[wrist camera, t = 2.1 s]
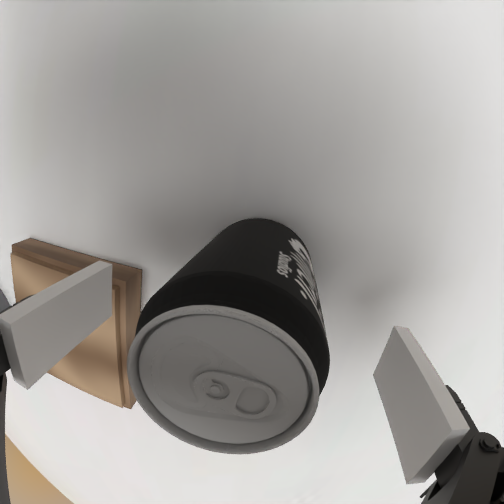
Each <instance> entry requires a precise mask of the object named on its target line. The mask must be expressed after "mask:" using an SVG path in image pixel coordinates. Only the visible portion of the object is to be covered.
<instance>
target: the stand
mask: <svg viewBox="0 0 504 504" xmlns="http://www.w3.org/2000/svg"><path fill="white" fill-rule="evenodd" d="M99 260H100V261H103V262H107V263H110V264H112V316H111V317H110V318H108V319H107V320H106V321H105V322H104V323H103V324H101V325H100V326H99V327H98V328H97V329H95V330H94V331H93V332H92V333H91V334H90V335H88V336H87V337H86V338H85V339H84V340H83V341H82V342H80V343H79V344H78V345H77V346H76V347H75V348H74V349H72V350H71V351H70V352H69V353H68V354H67V355H66V356H64V357H63V358H62V359H61V360H60V361H59V362H58V363H57V364H55V365H54V366H53V367H52V368H51V369H50V370H49V371H48V372H47V373H49V374H51V375H53V376H55V377H56V378H58V379H60V380H62V381H64V382H66V383H68V384H70V385H72V386H74V387H76V388H78V389H80V390H82V391H84V392H87V393H89V394H91V395H93V396H95V397H98V398H100V399H102V400H104V401H107V402H109V403H111V404H114V405H116V406H119V407H121V408H123V406H124V407H126V408H129V409H131V408H132V407H133V405H134V404H135V402H136V400H137V399H136V398H135V396H134V394H133V391H132V389H131V386H130V384H129V380H128V375H127V357H128V353H129V349H130V346H131V344H132V342H133V340H134V338H135V333H136V327H137V323H138V319H139V317H140V306H141V280H142V270H141V269H137V268H133V267H129V266H125V265H122V264H118V263H114V262H111V261H107V260H103V259H100V258H96V257H92V256H89V255H85V254H82V253H78V252H75V251H71V250H68V249H65V248H61V247H58V246H54V245H51V244H48V243H44V242H41V241H38V240H35V239H31V238H29V239H26V240H23V241H21V242H18V243H15V244H12V253H11V266H12V276H13V284H14V292H15V299H16V303H17V302H20V300H22V299H24V298H26V297H28V296H30V295H34V294H37V293H38V292H40V291H42V290H44V289H46V288H48V287H49V286H51V285H53V284H55V283H57V282H59V281H61V280H63V279H64V278H66V277H68V276H70V275H72V274H74V273H76V272H78V271H80V270H82V269H84V268H86V267H88V266H90V265H91V264H93V263H95V262H97V261H99Z"/></svg>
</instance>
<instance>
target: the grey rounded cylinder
mask: <svg viewBox="0 0 504 504" xmlns="http://www.w3.org/2000/svg"><path fill="white" fill-rule="evenodd" d="M8 307H10V305H9V302H8V300H7V298H6V297H5V295H4V293H3V292H2V290H1V289H0V312H1V311H3V310H4V309H6V308H8Z"/></svg>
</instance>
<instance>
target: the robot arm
mask: <svg viewBox="0 0 504 504" xmlns="http://www.w3.org/2000/svg"><path fill="white" fill-rule="evenodd" d="M111 316H112V264H110V263H107V262H103V261H100V260H99V261H97V262H95V263H93V264H91V265H90V266H88V267H86V268H84V269H82V270H80V271H78V272H76V273H74V274H72V275H70V276H68V277H66V278H64V279H63V280H61V281H59V282H57V283H55V284H53V285H51V286H49V287H48V288H46V289H44V290H42V291H40V292H38V293H37V294H34V295H30V296H28V297H26V298H24V299H22V300H20V302H17V303H15V304H13V306H12V305H11V306H10V307H8V308H6V309H4V310H3V311H1V312H0V504H11V503H10V498H9V490H8V481H7V471H6V457H5V401H6V386H7V377H6V374H5V372H6V371H8V370H9V369H11V372H12V375H13V378H14V381H15V382H17V383H18V384H20V385H21V386H23V387H24V388H26V389H27V390H28V389H29V388H30V387H31V386H32V385H33V384H34V383H36V382H37V381H38V380H39V379H40V378H41V377H42V376H43V375H44V374H45V373H47V372H48V371H49V370H50V369H51V368H52V367H53V366H54V365H55V364H57V363H58V362H59V361H60V360H61V359H62V358H63V357H64V356H66V355H67V354H68V353H69V352H70V351H71V350H72V349H74V348H75V347H76V346H77V345H78V344H79V343H80V342H82V341H83V340H84V339H85V338H86V337H87V336H88V335H90V334H91V333H92V332H93V331H94V330H95V329H97V328H98V327H99V326H100V325H101V324H103V323H104V322H105V321H106V320H107V319H108V318H110V317H111ZM373 376H374V379H375V382H376V385H377V388H378V391H379V394H380V397H381V400H382V403H383V406H384V409H385V412H386V415H387V418H388V421H389V425H390V428H391V431H392V434H393V438H394V441H395V444H396V448H397V451H398V455H399V458H400V462H401V465H402V469H403V473H404V476H405V480H406V484H414V483H423V482H425V481H426V480H427V479H428V478H429V477H430V476H431V475H432V474H433V473H434V472H435V475H436V478H437V480H436V481H435V482H434V483H433V484H432V485H431V486H430V487H429V488H428V489H427V490H426V491H425V492H424V493H423V494H422V495H421V496H420V498H422V497H423V496H424V495H426V496H425V498H424V500H423V501H422V503H421V504H504V447H501V445H500V443H499V441H498V440H497V439H496V438H495V437H494V436H492V435H491V434H489V433H485V432H479V431H478V429H477V428H476V426H475V424H474V422H473V420H472V419H471V417H470V415H469V414H468V412H467V410H465V407H464V405H463V404H462V403H461V400H460V399H459V397H458V395H457V394H456V392H454V391H453V390H452V389H451V388H450V387H449V386H448V385H445V384H444V383H443V381H442V379H441V378H440V376H439V375H438V373H437V371H436V370H435V368H434V367H433V365H432V363H431V362H430V360H429V359H428V357H427V356H426V354H425V353H424V351H423V349H422V348H421V346H420V345H419V343H418V342H417V340H416V339H415V337H414V336H413V334H412V333H411V332H410V330H409V329H408V328H405V327H398V326H394V327H393V330H392V332H391V335H390V337H389V340H388V342H387V344H386V347H385V349H384V351H383V354H382V356H381V358H380V361H379V363H378V365H377V367H376V369H375V372H374V374H373Z"/></svg>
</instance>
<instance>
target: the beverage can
mask: <svg viewBox="0 0 504 504" xmlns="http://www.w3.org/2000/svg"><path fill="white" fill-rule="evenodd" d="M329 366H330V355H329V348H328V342H327V337H326V331H325V326H324V321H323V316H322V311H321V306H320V301H319V296H318V291H317V286H316V282H315V277H314V272H313V268H312V263H311V259H310V256H309V253H308V250H307V248H306V246H305V245H304V243H303V242H302V240H301V239H300V238H299V237H298V236H297V235H296V234H295V233H294V232H293V231H292V230H290V229H289V228H287V227H286V226H284V225H282V224H280V223H278V222H275V221H272V220H267V219H247V220H242V221H239V222H236V223H234V224H232V225H230V226H229V227H227V228H226V229H224V230H223V231H222V232H221V233H220V234H218V235H217V236H216V237H215V238H214V239H213V240H212V241H211V242H210V243H209V244H208V245H206V246H205V247H204V248H203V249H202V250H201V251H200V252H199V253H198V254H197V255H196V256H195V257H193V258H192V259H191V260H190V261H189V262H188V263H187V264H186V265H185V266H184V267H183V268H182V269H181V270H180V271H178V272H177V273H176V274H175V275H174V276H173V277H172V278H171V279H170V280H169V281H168V282H167V283H166V284H165V285H164V286H163V287H162V288H160V289H159V290H158V291H157V292H156V293H155V294H154V295H153V296H152V297H151V298H150V300H149V301H148V302H147V304H146V305H145V307H144V309H143V310H142V313H141V315H140V317H139V319H138V323H137V327H136V333H135V338H134V340H133V342H132V344H131V346H130V349H129V353H128V357H127V375H128V380H129V384H130V386H131V389H132V391H133V394H134V396H135V398H136V399H137V401H138V403H139V404H140V406H141V407H142V408H143V410H144V411H145V412H146V413H147V415H148V416H149V417H150V418H151V419H152V420H153V421H154V422H156V423H157V424H158V425H159V426H160V427H161V428H163V429H164V430H166V431H167V432H168V433H170V434H172V435H173V436H175V437H177V438H178V439H180V440H182V441H184V442H186V443H189V444H191V445H193V446H196V447H199V448H202V449H206V450H209V451H213V452H220V453H227V454H251V453H258V452H264V451H267V450H271V449H274V448H277V447H279V446H281V445H283V444H285V443H287V442H289V441H291V440H292V439H294V438H295V437H296V436H298V435H299V434H300V433H301V432H302V431H303V430H304V429H305V428H306V427H307V426H308V425H309V423H310V422H311V420H312V418H313V416H314V414H315V412H316V409H317V406H318V401H319V396H320V394H321V392H322V390H323V388H324V386H325V383H326V380H327V377H328V373H329Z"/></svg>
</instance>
